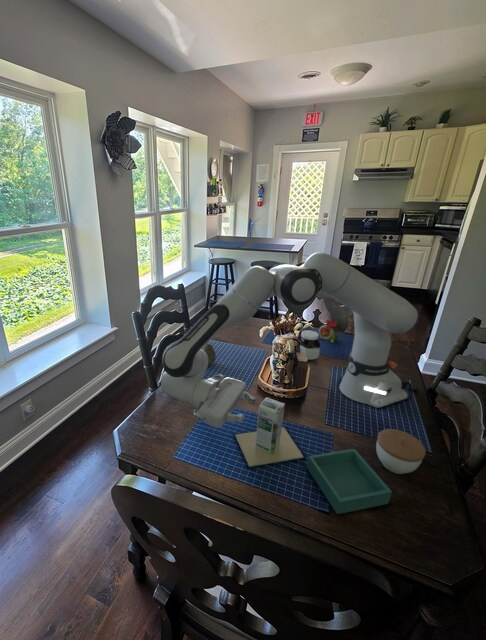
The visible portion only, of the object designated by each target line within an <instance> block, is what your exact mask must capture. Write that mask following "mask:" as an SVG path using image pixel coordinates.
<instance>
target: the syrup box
mask: <svg viewBox="0 0 486 640" xmlns="http://www.w3.org/2000/svg"><path fill="white" fill-rule="evenodd" d="M285 407H286V403H285V402H280V401H278V400H275V399H272V398H270V397H265V398H264V399H263V400H262V402H260V404H259V406H258V410H257V422H256V431H257V432H256V441H255V447H256V448H259V449H261V450H263V451H266V452H268V453H270V454H272V455H273V454H274V452H275V451H276V449H277V447H278V445H279V443H280V438H281V430H282V427H283V423H284V414H285Z"/></svg>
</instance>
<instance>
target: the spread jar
mask: <svg viewBox="0 0 486 640" xmlns="http://www.w3.org/2000/svg"><path fill="white" fill-rule="evenodd" d="M300 336H301V344H300V353H304V354H306V356H307V358H308V361H307V362H313V361H316V360H318V358H319V356H320V353H321V342H320V340H319V336H320V335H319V332H317V331H314V330H310V329H309V330H302V331H301V335H300Z"/></svg>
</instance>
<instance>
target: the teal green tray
mask: <svg viewBox="0 0 486 640" xmlns="http://www.w3.org/2000/svg"><path fill="white" fill-rule="evenodd" d="M306 469H307V471H308V472H309V474H310V475H311V477H312V478H313V480H314V481H315V483H316V484H317V486H318V487H319V488H320V491H321V492H322V494H323V495H324V497H325V499H327V501H328V503H329V504H330V506H331V507H332V509H333V511H334V512H335V514H336V515H340V514H345V513H350V512H355V511H360V510H364V509H370V508H374V507H379V506H385V505H388V504H389V503H390V500H391V497H392V494H393V491H392V490H391V488H389V486H388V485H387V484H386V483H385V482H384V481H383V479H381V477H380V476H379V475H378V474H377V472H375V470H374V469H373V468H372V467H371V466H370V464H368V462H367V461H366V460H365V459H364V458H363V457H362V456H361V454H360V453H359V452H358V451H357V450H356V449H355V448H350V449H345V450H344V449H343V450H338V451H332V452H327V453H321V454H315V455H309V456H308V458H307V464H306Z"/></svg>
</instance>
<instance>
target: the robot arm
mask: <svg viewBox="0 0 486 640" xmlns="http://www.w3.org/2000/svg"><path fill="white" fill-rule="evenodd" d="M319 292H321V293H323V294H325V295H326V296H328V297H329V298H331V299H333V300H335V301H336V302H338V303H340V305H343V306H344V307H346V308H347V309H349V310H350V311H352V313H353V322H354V337H353V342H352V348H351V352H350V353H349V356H348V360H347V367H346V370H345V373H344V375H343V376H342V380H341V381H340V383H339V385H338V389H339V391H340V392H341V394H343V395H344V396H345V397H347V398H348V399H351V400H352V401H354V402H357V403H361V404H366V405H369V406H371V407H374V408H376V409H380V408H383V407H386V406H389V405H392V404H394V403H398V402H401V401H404V400H407V399H408V394H407V392H406V390H407V388H408V390H409V391H410V392H415V391H416V392H417V390H418V389H417V388H413V386H412V385H413V384H412V383H410V382H409V381H408V380H407V379H406V378H404V376H402V374H396V373H394V371H393V370H394V369H396V368H397V366H398V364H397V363H396V362H394V361H392V360H389V359H388V358H389V354H390V350H391V347H392V338H391V336H390V333H393V334H395V335H396V334H399V335H400V334H404V333H407V332H408V331H410V330H411V329H412V328H413V327H414V326H415V325H416V324H417V321H418V318H419V315H418V314H419V313H418V311H417V309H416V307H415V306H414V305H413V304H411V303H410V302H409V301H408V300H407V299H406V298H404V297H403V296H401V295H399V294H397V293H396V292H394V291H393V290H391V289H389V288H388V287H386V286H385V285H383V284H381V283H379V282H377V281H376V280H374V279H373V278H371V277H369V276H367V275H366V274H365V273H362V272H361V271H359V270H358V269H356V268H355V267H353V266H351V265H350V264H348V263H347V262H345V261H343V260H342V259H340V258H338V257H335V256H334V255H331V254H329V253H326V252H322V251H318V252H315V253H312V254H310V255H309V256H308V257H307V258H306V260H305V261H304V262H303V263H302V264H301V265H299V266H298V265H292V264H289V263H283V262H282V263H276V264H273V265H272V266H270V267H268V268H266V267H263V266H260V265H254V266H251V267H250V268H248V269H247V270H246V271H245V272H243V274H241V275H240V276H239V277H238V278H237V279H236V280H235V281H234V283H233V284H232V285H230V287H229V288H228V290H227V291H226V292H225V293H224V294H223V295H222V297H221V298H220V299H219V300H218V301H217V302H216V303H215V304H213V305H212V307H210V308H209V309H208V310H207V311H206V312H205V313H204V314H203V315H202V316H201V317H200V318H199V319H198V320H197V321H196V322H195V323H194V324H193V325H192V326H191V327H190V329H189V330H187V331H186V332H185V334H184V335H182V336H181V338H179V339H178V340H176V341H173V342H172V343H170V344H169V345H167V346H166V348H164V350H163V352H162V356H161V364H162V367H163V369H164V372H163V373H162V374H161V378H160V388H161V390H162V391H163V393H164V394H165V395H167V396H169V397H171V398H172V399H175V400H177V401H179V402H183V403H189V404H190V405H191V406H193V407H196V408H194V410H193V416H194V417H195V418H196V419H198V420H201V421H202V422H203V423H205V424H206V425H209V426H210V427H213V428H215V429H221V428H223V426H224V424H225V423H226V422H228V423H240V424H243V423H244V421H245V415H244V414H241V413H238V414H233V412H234V411H235V409H236V408H237V406H238V405H239V403H240V402H241V401H242V400H246V401H248V404H250V405H255V404H256V402H257V397H256V396H254V395H251V394H250V393H249V392H248V391H247V384H246V383H245V382H244V381H243V380H242V381H241V380H239V379H236V378H233V377H228V376H227V377H225V376H224V374H220V373H217V374H215V375H214V376H211V377H208V378H207V379H205V378H204V377H205V374H206V372H207V370H208V367H209V366H208V364H209V359H208V355H207V353H206V352H205V351H204V350H203V348H204V346H205V345H206V344H208V342H209V341H210V340H211V339H212V338H213V337H214V336H215V335H216V334H217V333H219V332H220V331H223V330H225V329H228V328H233V327H239V326H243V325H244V324H245V323H247V322H248V321H249V320H250V319H252V318H253V316H254V315H255V314H256V313H257V312H258V310H259V309H260V308H261V307H262V306H263V305H264V303H266V301H268V300H269V299H270V298H272V297H276V298H278V299H279V300H281V301H284V302H286V303H287V304H289V305H293V306H304V305H307V304H309V303H310V302H312V301H313V300H314V299H315V297H316V296H317V295H318V293H319ZM389 367H390V368H391V369H393V370H391V369H390V368H389Z"/></svg>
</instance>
